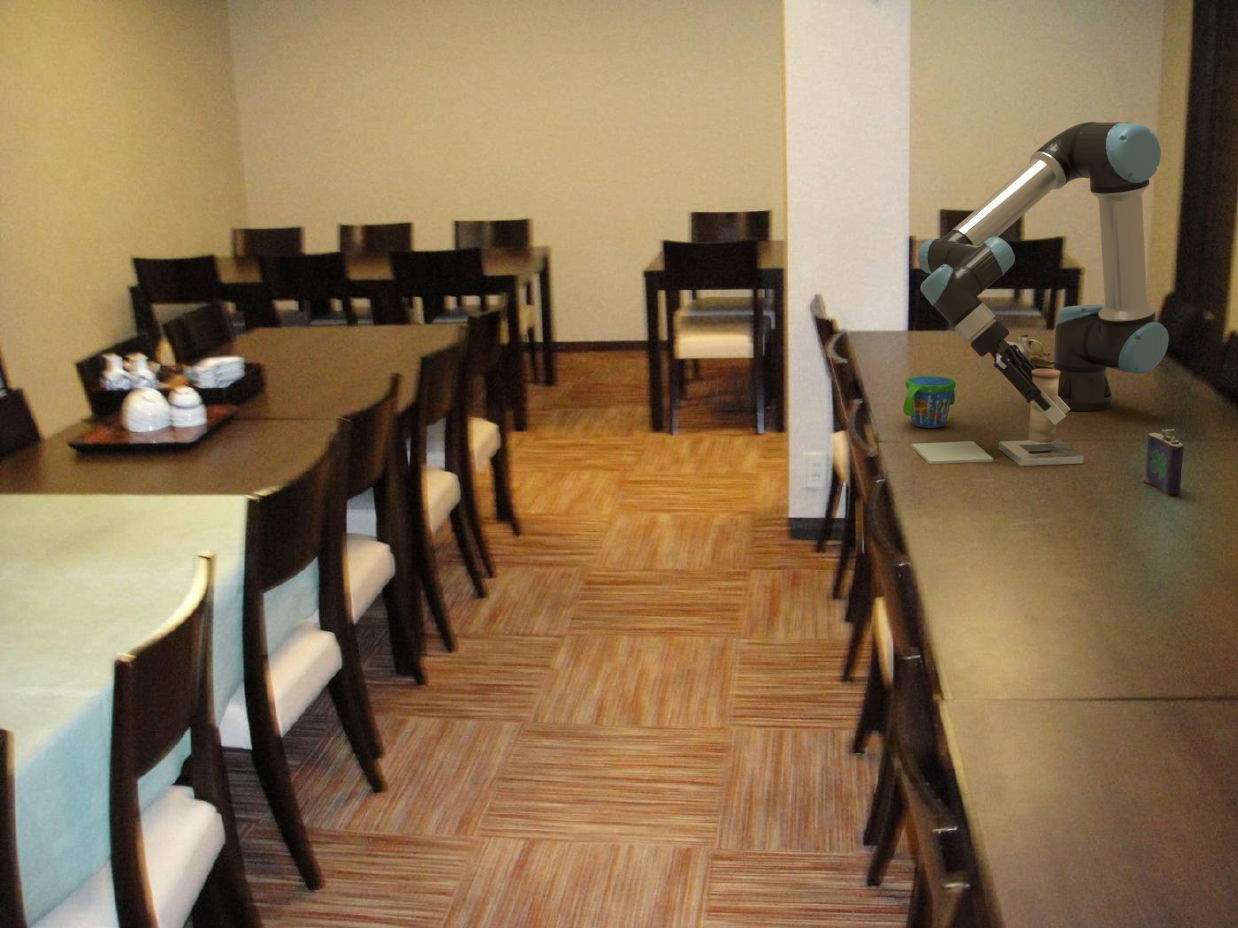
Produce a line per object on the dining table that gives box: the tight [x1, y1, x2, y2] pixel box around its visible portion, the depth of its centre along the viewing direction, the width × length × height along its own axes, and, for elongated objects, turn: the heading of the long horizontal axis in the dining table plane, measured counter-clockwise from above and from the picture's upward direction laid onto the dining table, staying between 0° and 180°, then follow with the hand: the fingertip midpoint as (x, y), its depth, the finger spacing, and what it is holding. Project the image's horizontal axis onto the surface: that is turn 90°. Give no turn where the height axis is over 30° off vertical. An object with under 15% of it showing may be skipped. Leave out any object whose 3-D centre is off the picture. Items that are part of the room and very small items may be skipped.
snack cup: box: [902, 375, 957, 429], centre depth 284 cm, size 16×10×10 cm
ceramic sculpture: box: [1005, 334, 1054, 368], centre depth 339 cm, size 11×9×15 cm
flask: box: [1143, 428, 1185, 498], centre depth 236 cm, size 10×3×12 cm, turn 8°
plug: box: [1028, 368, 1060, 443], centre depth 257 cm, size 5×5×14 cm
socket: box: [998, 438, 1084, 467], centre depth 260 cm, size 13×13×2 cm
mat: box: [911, 440, 994, 465], centre depth 263 cm, size 13×13×1 cm
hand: (1062, 416), depth 256 cm, fingers closed on plug, 5 cm apart
